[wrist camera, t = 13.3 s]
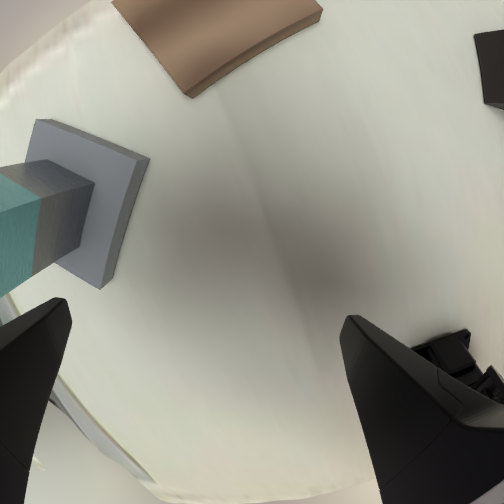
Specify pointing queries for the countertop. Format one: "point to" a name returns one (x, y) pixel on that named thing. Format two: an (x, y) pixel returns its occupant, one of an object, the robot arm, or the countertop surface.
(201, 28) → the stand
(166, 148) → the countertop surface
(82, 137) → the stand
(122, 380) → the countertop surface
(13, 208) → the block
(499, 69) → the phone stand
